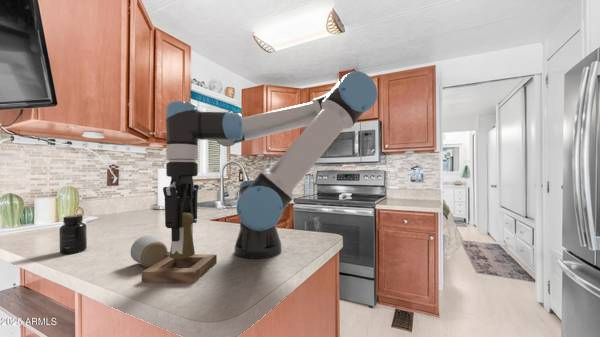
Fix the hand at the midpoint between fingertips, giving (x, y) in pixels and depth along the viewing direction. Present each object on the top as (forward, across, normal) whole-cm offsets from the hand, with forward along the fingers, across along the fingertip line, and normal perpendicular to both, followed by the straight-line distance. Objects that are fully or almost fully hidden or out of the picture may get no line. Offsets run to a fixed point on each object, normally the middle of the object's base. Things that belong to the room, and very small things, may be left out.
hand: (182, 250), depth 66 cm
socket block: (+6, 0, 0) cm, 6 cm away
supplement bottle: (+6, -16, -47) cm, 50 cm away
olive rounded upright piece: (+1, 0, 0) cm, 1 cm away
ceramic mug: (+6, -6, -12) cm, 15 cm away
